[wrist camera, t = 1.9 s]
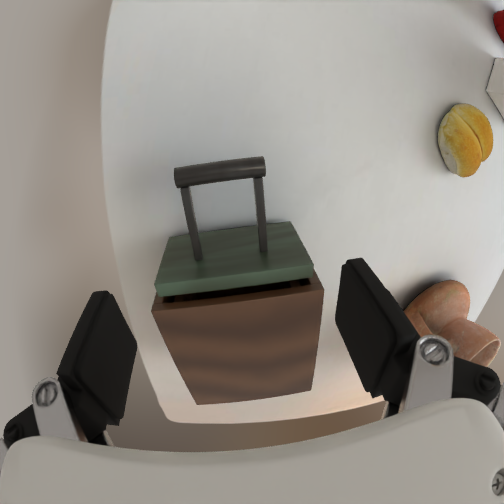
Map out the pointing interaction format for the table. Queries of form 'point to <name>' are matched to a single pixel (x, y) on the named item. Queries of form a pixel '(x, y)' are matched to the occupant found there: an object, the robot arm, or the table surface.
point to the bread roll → (465, 139)
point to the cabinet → (244, 342)
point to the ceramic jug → (452, 322)
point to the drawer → (230, 244)
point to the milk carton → (497, 85)
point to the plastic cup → (499, 23)
